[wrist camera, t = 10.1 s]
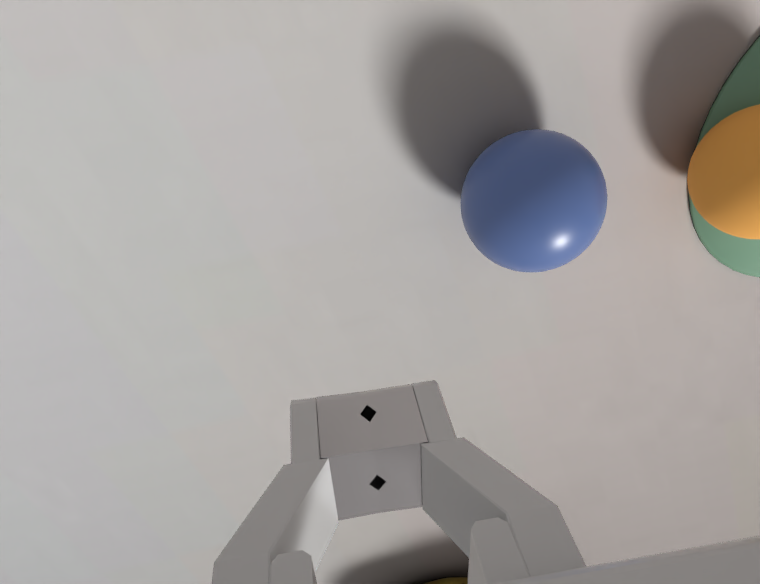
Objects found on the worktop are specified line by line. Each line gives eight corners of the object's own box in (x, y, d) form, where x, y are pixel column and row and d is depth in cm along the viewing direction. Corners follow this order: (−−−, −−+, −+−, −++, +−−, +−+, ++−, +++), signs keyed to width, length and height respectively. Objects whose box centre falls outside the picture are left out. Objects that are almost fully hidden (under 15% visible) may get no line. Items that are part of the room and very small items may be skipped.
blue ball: (564, 174, 16) (431, 139, 19) (546, 318, 18) (433, 266, 21) (647, 126, 18) (518, 102, 21) (620, 257, 21) (510, 219, 24)
